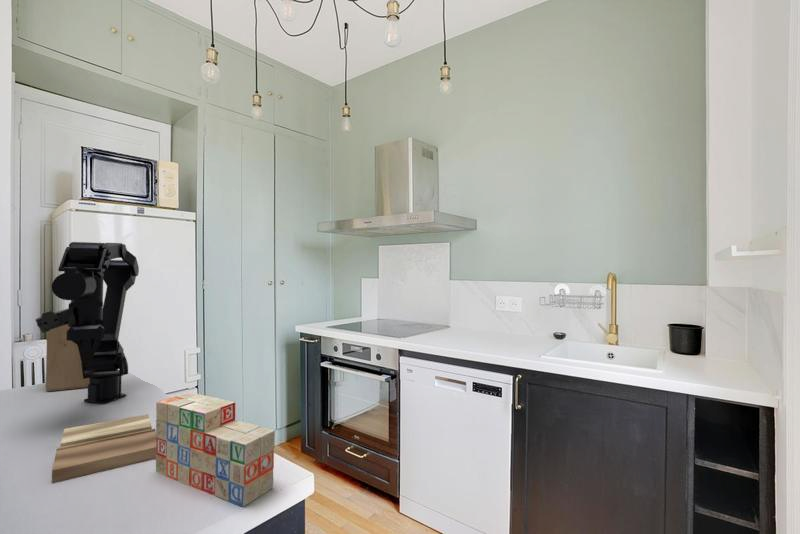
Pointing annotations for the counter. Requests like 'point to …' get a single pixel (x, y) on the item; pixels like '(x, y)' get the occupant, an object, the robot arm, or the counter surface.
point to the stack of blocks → (213, 448)
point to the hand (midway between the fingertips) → (85, 365)
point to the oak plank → (105, 430)
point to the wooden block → (63, 362)
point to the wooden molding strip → (103, 454)
